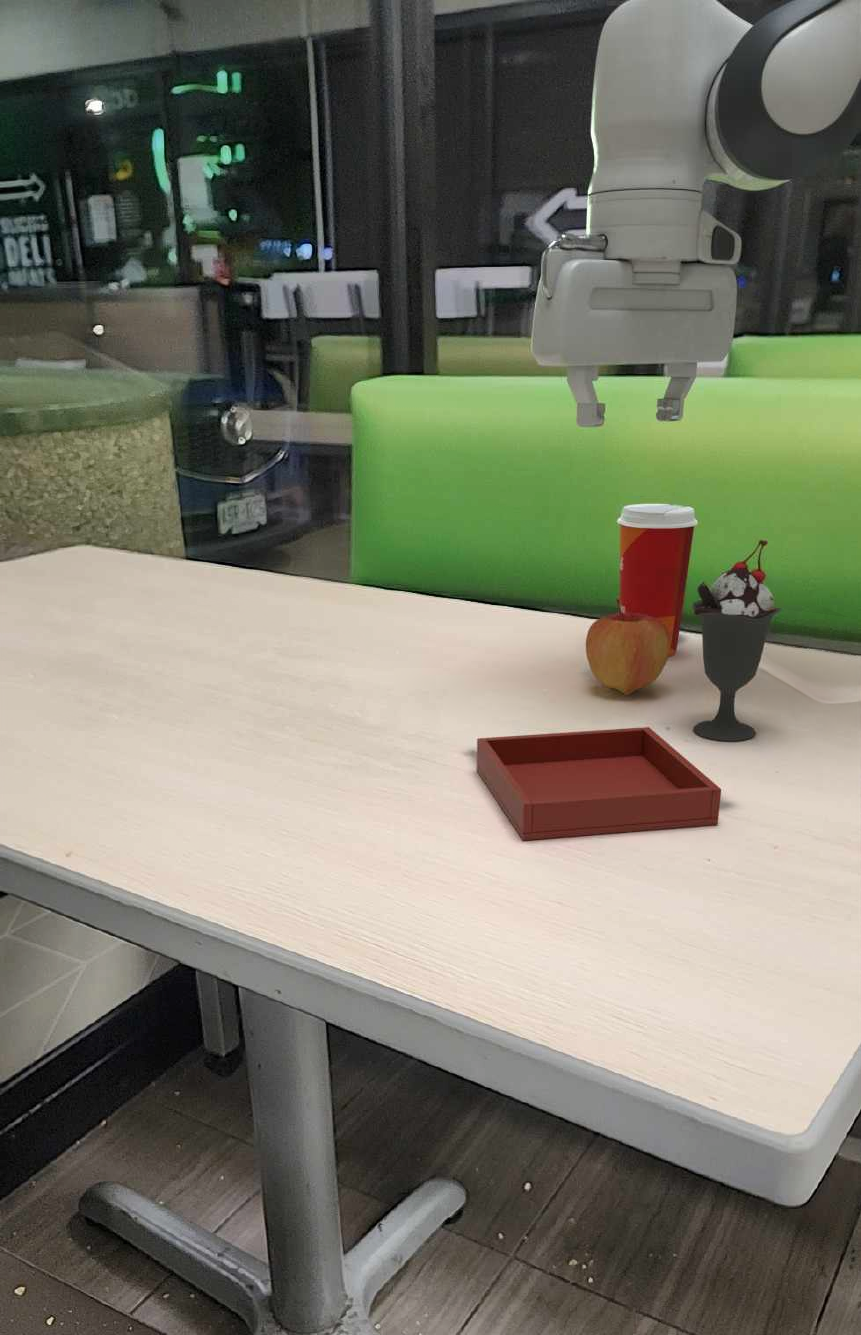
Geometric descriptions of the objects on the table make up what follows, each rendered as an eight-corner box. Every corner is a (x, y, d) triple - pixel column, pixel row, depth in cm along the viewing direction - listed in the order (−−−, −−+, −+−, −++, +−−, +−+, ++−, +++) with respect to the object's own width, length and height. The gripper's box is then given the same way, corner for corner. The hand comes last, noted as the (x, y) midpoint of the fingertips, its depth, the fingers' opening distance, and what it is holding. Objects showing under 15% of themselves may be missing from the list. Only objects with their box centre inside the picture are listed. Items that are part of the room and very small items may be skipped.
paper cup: (644, 638, 122) (653, 500, 117) (702, 652, 117) (715, 508, 111) (592, 650, 118) (600, 507, 112) (651, 665, 112) (662, 516, 107)
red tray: (646, 758, 88) (649, 726, 87) (718, 824, 76) (721, 789, 75) (476, 770, 86) (476, 738, 85) (522, 840, 74) (523, 804, 73)
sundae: (776, 726, 95) (799, 538, 89) (752, 750, 90) (774, 552, 84) (698, 714, 98) (714, 532, 92) (670, 736, 93) (686, 544, 87)
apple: (630, 708, 100) (636, 615, 96) (566, 690, 105) (570, 601, 102) (683, 691, 104) (690, 602, 101) (619, 675, 109) (624, 590, 106)
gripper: (574, 229, 84) (566, 432, 89) (755, 240, 95) (738, 420, 101) (516, 234, 88) (511, 428, 94) (696, 244, 100) (682, 416, 105)
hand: (630, 424), depth 97 cm, fingers open, 8 cm apart
